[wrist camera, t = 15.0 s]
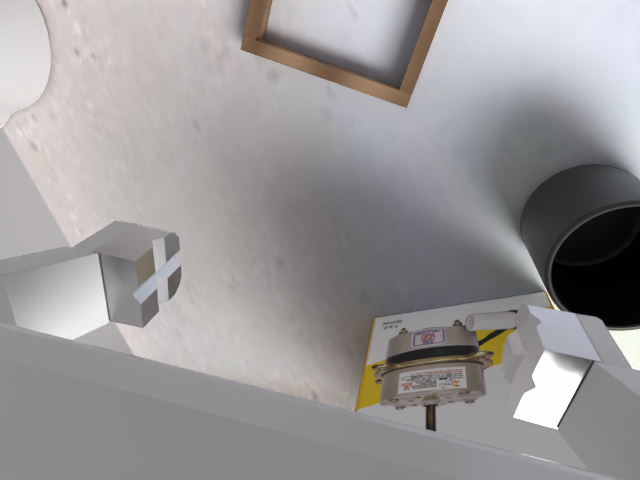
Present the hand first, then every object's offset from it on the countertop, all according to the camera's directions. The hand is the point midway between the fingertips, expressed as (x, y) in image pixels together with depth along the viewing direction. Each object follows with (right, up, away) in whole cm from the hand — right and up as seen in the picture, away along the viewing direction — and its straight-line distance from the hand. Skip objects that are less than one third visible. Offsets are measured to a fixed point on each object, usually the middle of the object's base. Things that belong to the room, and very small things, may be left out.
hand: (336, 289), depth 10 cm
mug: (+22, +2, +25) cm, 34 cm away
